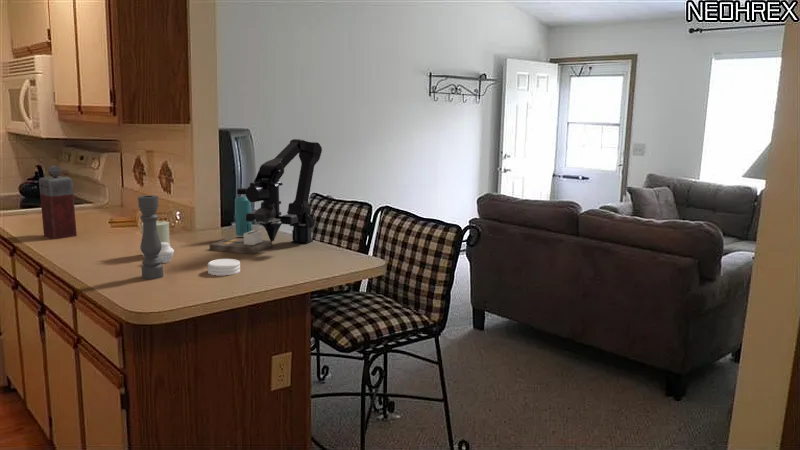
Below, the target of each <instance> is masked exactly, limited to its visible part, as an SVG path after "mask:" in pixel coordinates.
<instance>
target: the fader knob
mask: <svg viewBox="0 0 800 450" xmlns="http://www.w3.org/2000/svg"><path fill="white" fill-rule="evenodd" d="M243 238H244V244H248V245H255V244H258V243H260V242H262V240H263V232H262V230H252V231H249V232H246V233H244V236H243Z"/></svg>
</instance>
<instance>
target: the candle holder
mask: <svg viewBox="0 0 800 450" xmlns="http://www.w3.org/2000/svg"><path fill="white" fill-rule="evenodd" d="M137 200H138V201H137V203H138V208H139V211H140V212H141V215H140V217H139V218H140V220H141V221H142V223H143V236H141V241H140V249H139V250H140V251H141V253H142V255H143V254H144V257H143V260H142V263H141V264H142V266H141V277H142V278H141V279H144V280H156V279H157V278H158V279H160V278H163V277H164V265H163V263H161V262H162V260H161V259H160V258H159V257H158V256H159V253H160V251H161V248H162V245H161V242H160V239H159V235H158V232H157V225H156V221H158V219H159V215H158V214H157V211H158V209H159V206H160V205H159V196H158V195H153V194H151V195H139V196H138V197H137Z"/></svg>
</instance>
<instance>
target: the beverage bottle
mask: <svg viewBox="0 0 800 450" xmlns="http://www.w3.org/2000/svg"><path fill="white" fill-rule="evenodd" d="M246 190H247V187H246V188H245V187H244V188H243V187H240V188H237V190H236V194H237V195H240V196H237V197H236V198H235V199H234V212H235V214H234V215H235V219H234V220H235V222H234V223H235V234H236V236H239V237H244V233H246V232H249V231H253V224H252V222H251V221H246V218H245V216H246V214H247V213H250V212H252V207H251V206H252V205H251V204H252V202H250V201H249V200H248V199H247V197H246ZM241 195H245V196H241Z"/></svg>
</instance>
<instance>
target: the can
mask: <svg viewBox="0 0 800 450" xmlns="http://www.w3.org/2000/svg"><path fill="white" fill-rule="evenodd" d="M140 225H141V235H142V236H143V222H141V224H140ZM156 225H157V232H158V235H159V239H160V242H161V243H162V242H167V243H169V244H170V245H171V242H170V222H169V221H167V220H156ZM142 236H141V237H142ZM142 257H143V258H145V257H144V254H143V253H142Z"/></svg>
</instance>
